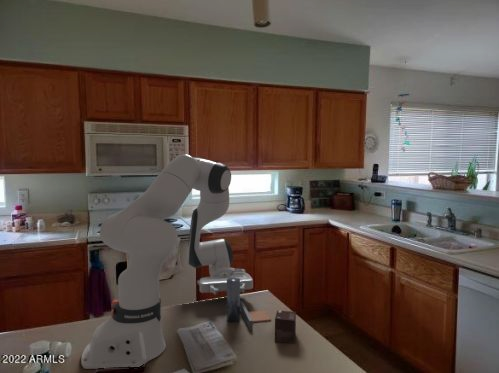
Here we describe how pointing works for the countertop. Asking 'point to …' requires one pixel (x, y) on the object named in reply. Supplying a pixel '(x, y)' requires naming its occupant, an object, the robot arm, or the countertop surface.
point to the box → (285, 326)
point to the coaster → (259, 316)
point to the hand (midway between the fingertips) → (229, 291)
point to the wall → (246, 315)
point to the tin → (233, 300)
